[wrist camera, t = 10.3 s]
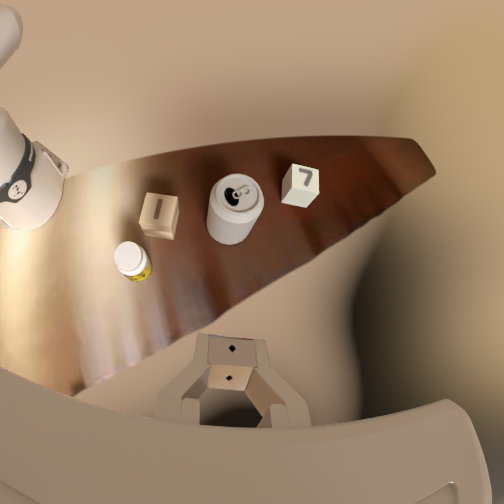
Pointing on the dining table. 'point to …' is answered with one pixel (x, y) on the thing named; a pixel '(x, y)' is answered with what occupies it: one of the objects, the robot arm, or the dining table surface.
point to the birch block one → (159, 215)
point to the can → (233, 208)
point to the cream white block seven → (300, 185)
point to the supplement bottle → (132, 261)
